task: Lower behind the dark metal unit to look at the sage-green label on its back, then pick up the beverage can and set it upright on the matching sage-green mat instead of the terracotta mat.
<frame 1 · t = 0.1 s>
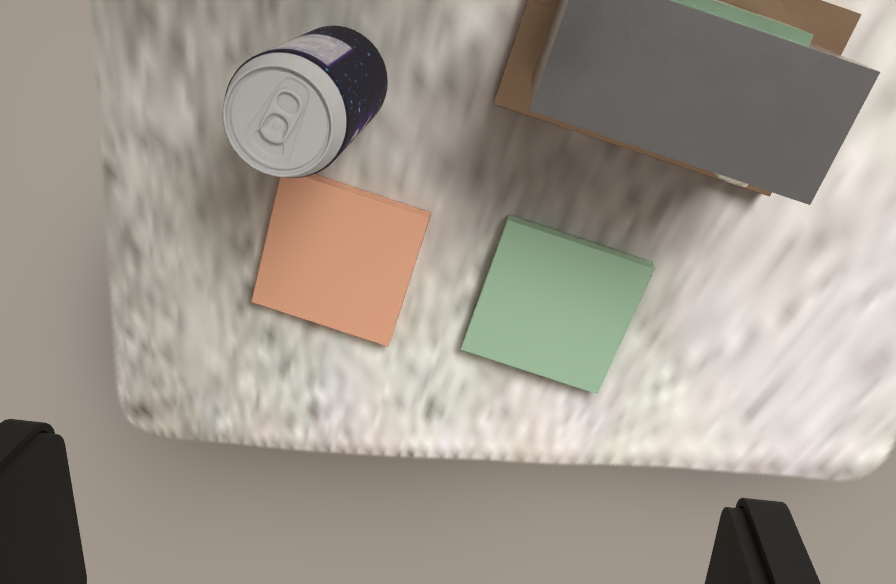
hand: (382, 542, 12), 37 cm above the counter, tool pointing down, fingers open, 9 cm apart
mounted unit: (666, 57, 44), on the counter
beverage can: (341, 76, 46), on the counter
terracotta mat: (340, 255, 51), on the counter
sage mat: (554, 303, 50), on the counter
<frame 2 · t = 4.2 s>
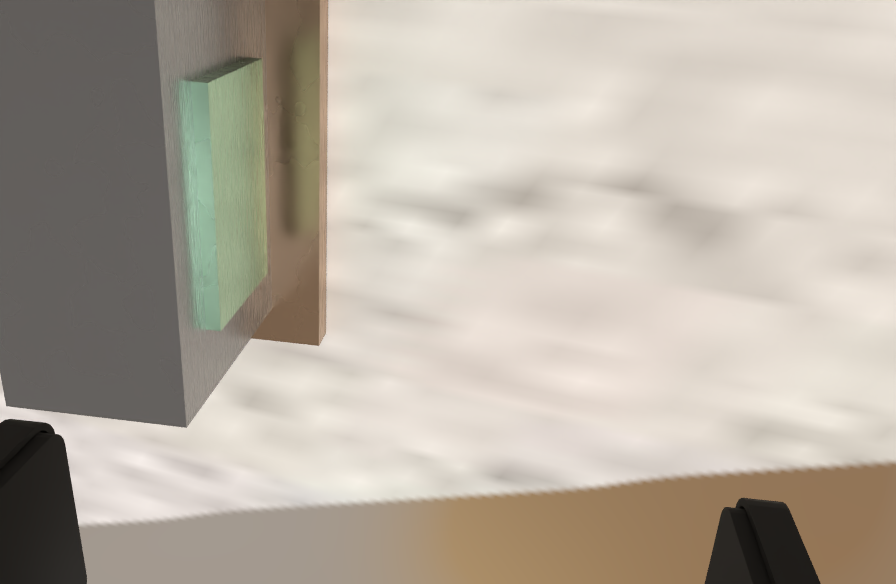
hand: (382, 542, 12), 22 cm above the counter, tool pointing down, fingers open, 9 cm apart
mounted unit: (204, 142, 33), on the counter
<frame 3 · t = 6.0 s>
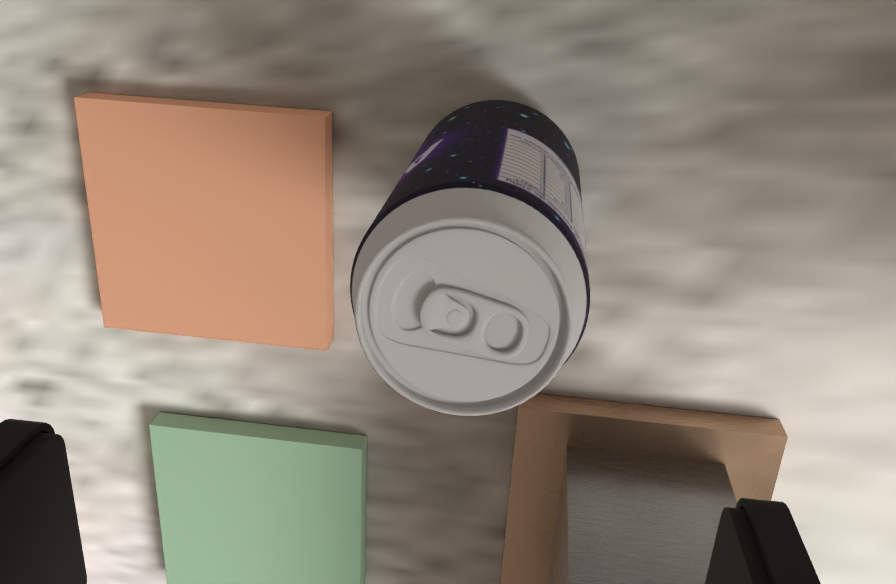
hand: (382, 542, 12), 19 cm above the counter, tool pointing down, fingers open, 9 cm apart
mounted unit: (619, 564, 35), on the counter
beverage can: (498, 174, 29), on the counter
terracotta mat: (216, 221, 31), on the counter
sage mat: (266, 509, 36), on the counter
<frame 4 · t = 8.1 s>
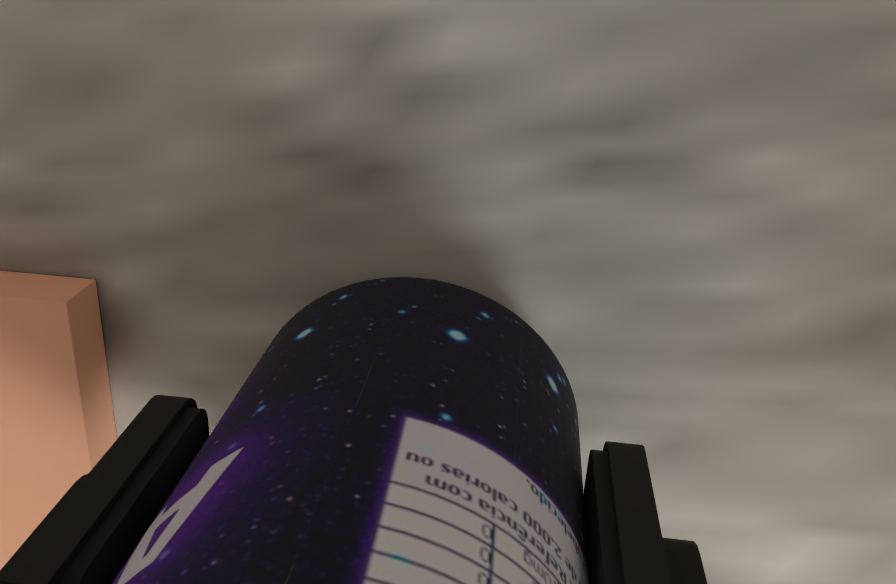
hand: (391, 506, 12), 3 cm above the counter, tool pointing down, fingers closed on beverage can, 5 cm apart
beverage can: (421, 394, 15), on the counter, touching gripper
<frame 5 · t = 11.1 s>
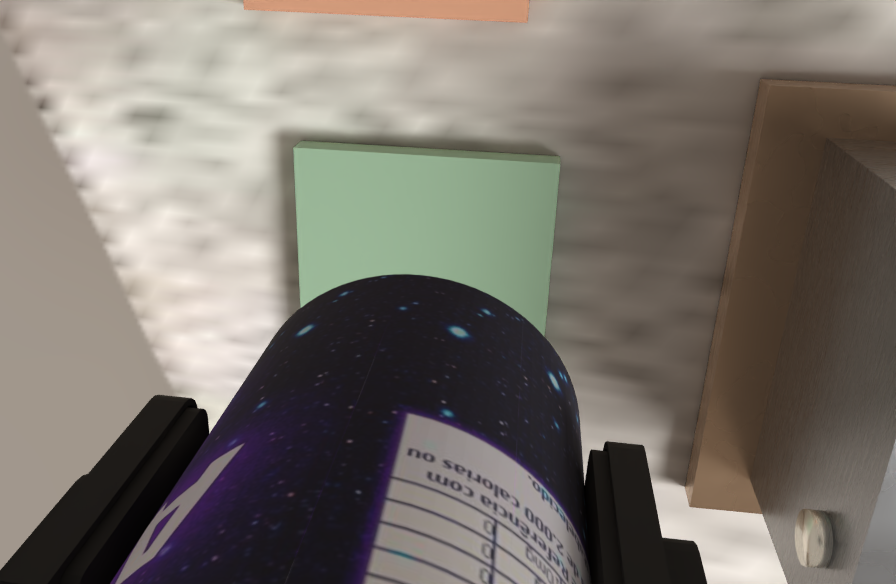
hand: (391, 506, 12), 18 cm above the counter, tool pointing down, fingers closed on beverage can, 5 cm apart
mounted unit: (863, 316, 29), on the counter
beverage can: (422, 392, 15), point 15 cm above the counter, touching gripper
sage mat: (426, 268, 30), on the counter
when the fingers open (5 cm above the counter, at t = 14.3 s): beverage can stays where it is, resting on sage mat.
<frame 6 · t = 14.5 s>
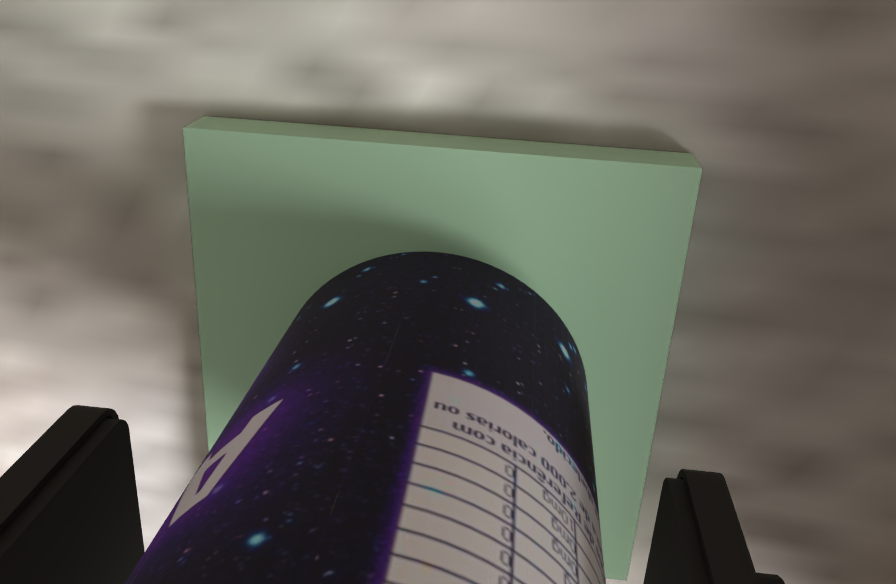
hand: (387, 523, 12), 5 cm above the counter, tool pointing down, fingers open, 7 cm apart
beverage can: (437, 366, 16), point 1 cm above the counter, touching sage mat
sage mat: (431, 351, 17), on the counter
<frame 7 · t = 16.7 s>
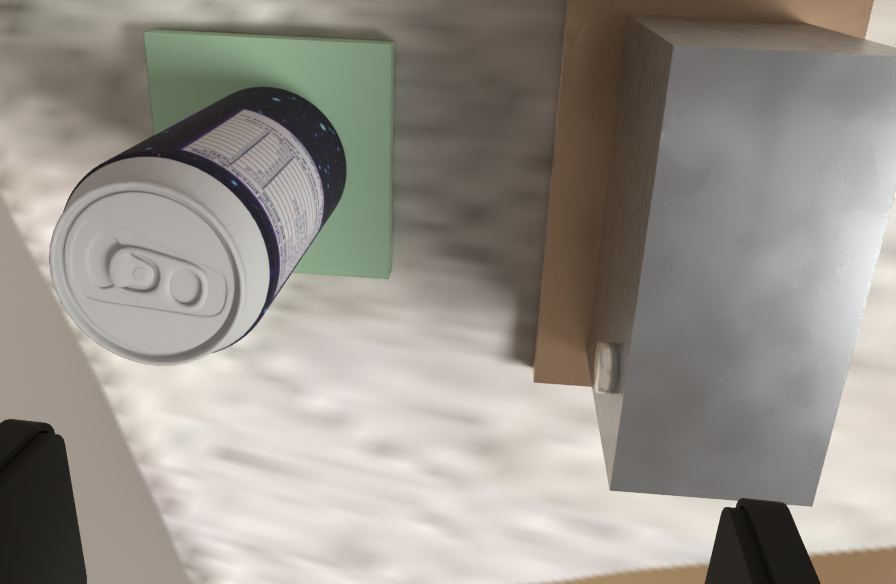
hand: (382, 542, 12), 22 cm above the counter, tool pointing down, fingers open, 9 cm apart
mounted unit: (680, 194, 31), on the counter
beverage can: (278, 157, 31), point 1 cm above the counter, touching sage mat
sage mat: (278, 155, 32), on the counter
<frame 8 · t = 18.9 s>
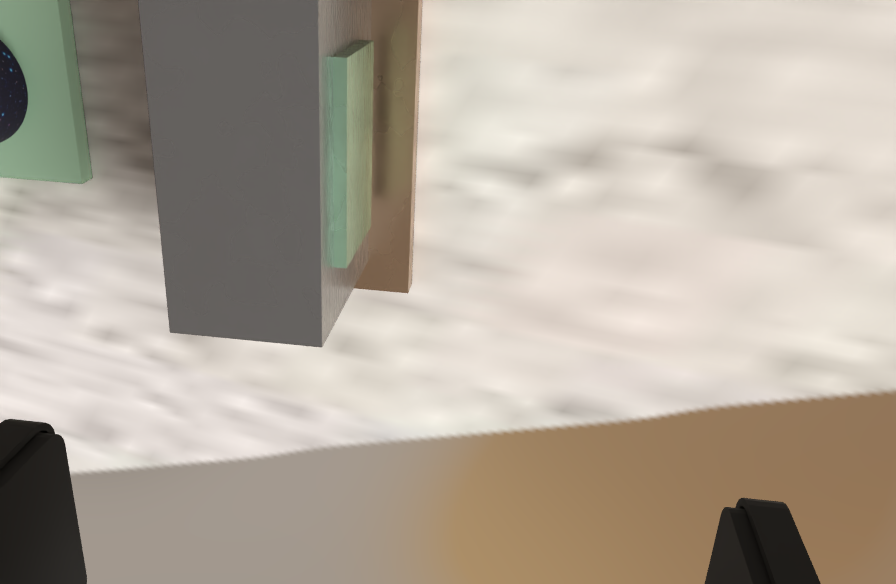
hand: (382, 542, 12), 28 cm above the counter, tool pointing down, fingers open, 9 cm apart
mounted unit: (311, 116, 38), on the counter
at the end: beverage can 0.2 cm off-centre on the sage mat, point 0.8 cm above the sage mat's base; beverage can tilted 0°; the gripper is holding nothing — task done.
